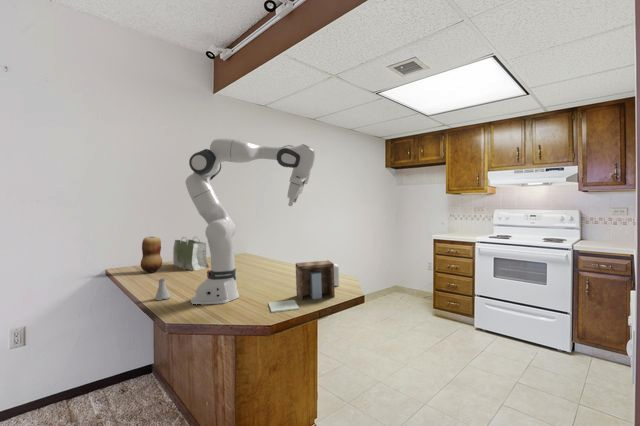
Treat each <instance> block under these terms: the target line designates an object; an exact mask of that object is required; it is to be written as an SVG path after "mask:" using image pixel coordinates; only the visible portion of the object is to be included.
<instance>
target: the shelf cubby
mask: <svg viewBox="0 0 640 426" xmlns="http://www.w3.org/2000/svg"><path fill="white" fill-rule="evenodd" d="M334 264H335V263H333V262H332V261H330V260H328V259H327V260H318V261H307V262H306V261H305V262H295V281H296V282H295V283H296V287H295V288H296V297H297V298H298V300H299V301H301V302H302V301H304V300H303V297H304V296H311V293H310V272H317V271H319V272H320V273H321V285H322V294H328V295H329V296H330V297H331V298H335V296H336V295H335V286H334Z"/></svg>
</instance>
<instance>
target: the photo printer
mask: <svg viewBox="0 0 640 426" xmlns="http://www.w3.org/2000/svg"><path fill="white" fill-rule="evenodd" d="M333 264H334V287H339V286H340V277H339V276H340V275H339V274H340V271H339V270H340V269H339V264H336V263H333Z"/></svg>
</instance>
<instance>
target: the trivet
mask: <svg viewBox="0 0 640 426" xmlns="http://www.w3.org/2000/svg"><path fill="white" fill-rule="evenodd" d="M268 305H269V309H270V313H271V314H272V313H280V312H287V311H296V310H300V307H299V305H298V303H297V301H296V300H295V299H289V300H280V301H272V302H271V301H270V302H268Z"/></svg>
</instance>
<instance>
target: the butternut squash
mask: <svg viewBox="0 0 640 426" xmlns="http://www.w3.org/2000/svg"><path fill="white" fill-rule="evenodd" d="M161 251H162V240H161V238H160V237H158V236H147V237H144V238H143V240H142V243H141V252H142V256H141V257H142V258H141V260H140V268H141V269H142V271H144V272H146V273H147V272H150V273H154V272H153V271H155V272H156V271H158V270H159V269H161V267H162V266H163V258H162V256H161Z"/></svg>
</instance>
